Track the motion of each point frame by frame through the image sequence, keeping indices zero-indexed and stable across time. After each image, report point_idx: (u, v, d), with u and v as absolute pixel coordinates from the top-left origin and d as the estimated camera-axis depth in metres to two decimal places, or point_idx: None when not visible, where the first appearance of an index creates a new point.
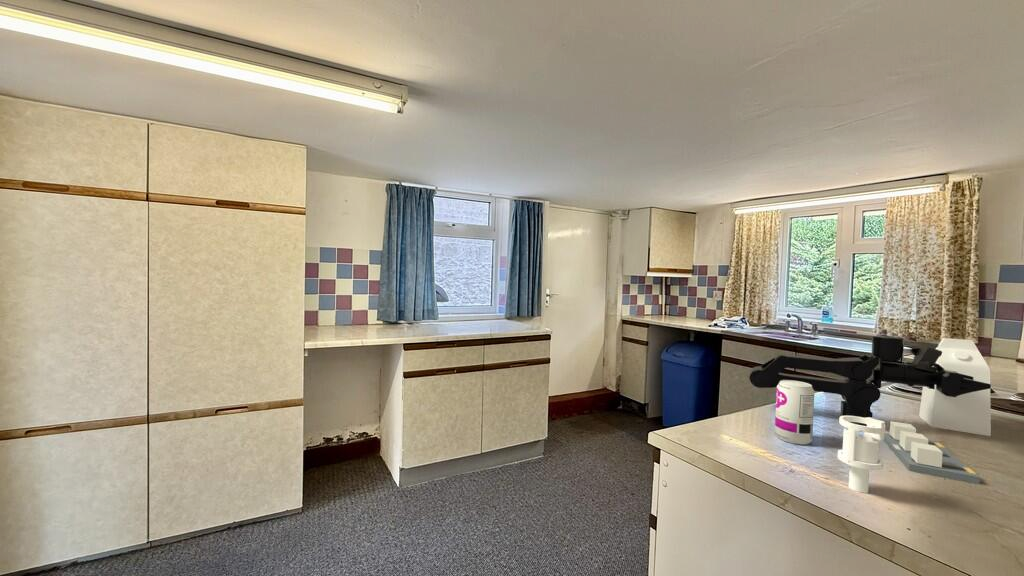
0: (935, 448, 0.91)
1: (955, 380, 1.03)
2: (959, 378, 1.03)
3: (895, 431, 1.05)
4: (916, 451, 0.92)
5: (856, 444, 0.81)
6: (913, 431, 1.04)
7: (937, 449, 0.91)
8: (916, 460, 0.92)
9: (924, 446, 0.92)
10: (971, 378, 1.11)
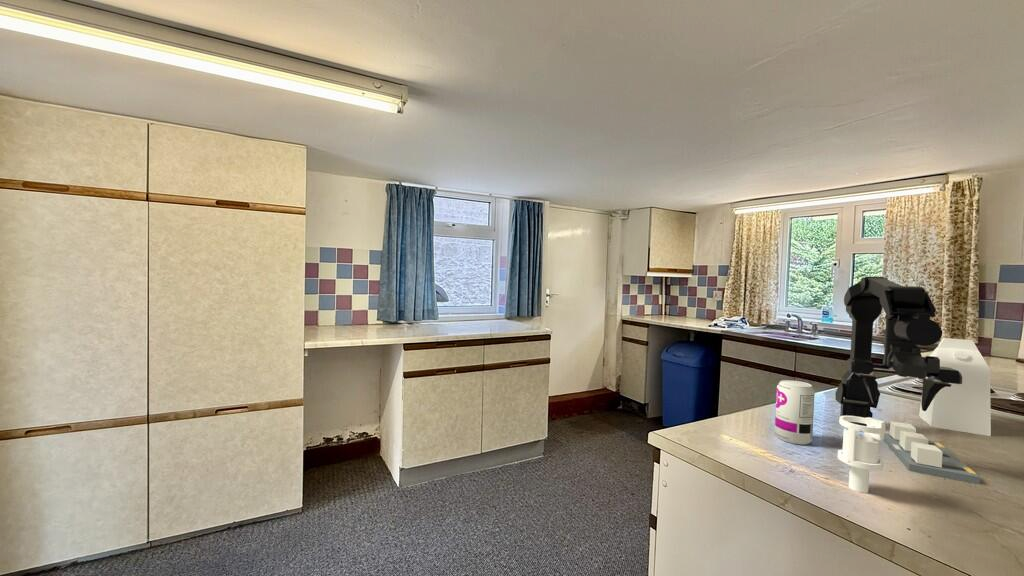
0: (935, 448, 0.91)
1: (849, 369, 0.98)
2: (858, 375, 0.97)
3: (895, 431, 1.05)
4: (916, 451, 0.92)
5: (856, 444, 0.81)
6: (913, 431, 1.04)
7: (937, 449, 0.91)
8: (916, 460, 0.92)
9: (924, 446, 0.92)
10: (923, 408, 0.92)
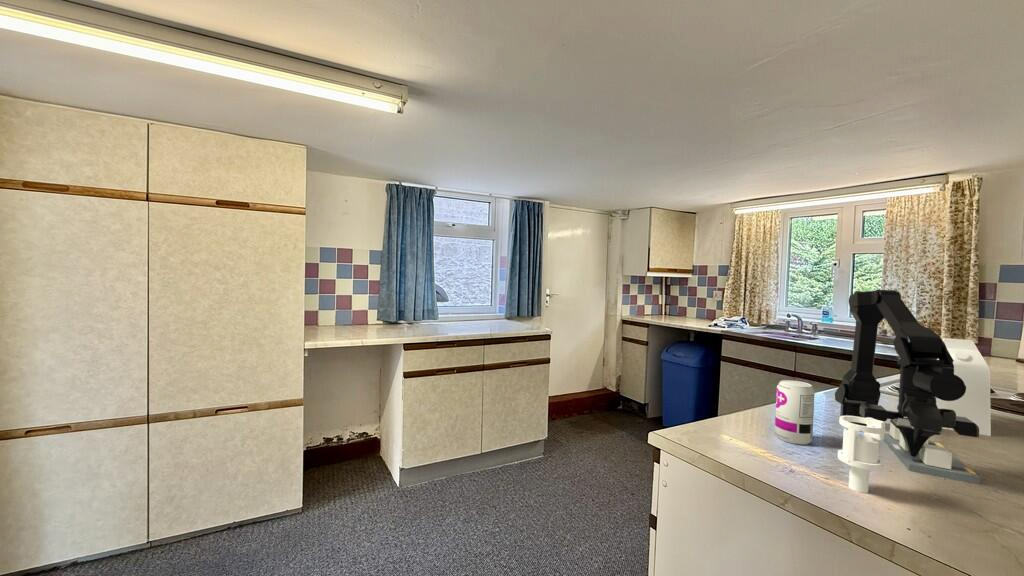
0: (944, 450, 0.91)
1: (863, 415, 0.97)
2: (895, 426, 0.93)
3: (895, 431, 1.05)
4: (925, 453, 0.91)
5: (856, 444, 0.81)
6: None
7: (947, 451, 0.90)
8: (925, 462, 0.91)
9: (933, 447, 0.92)
10: None
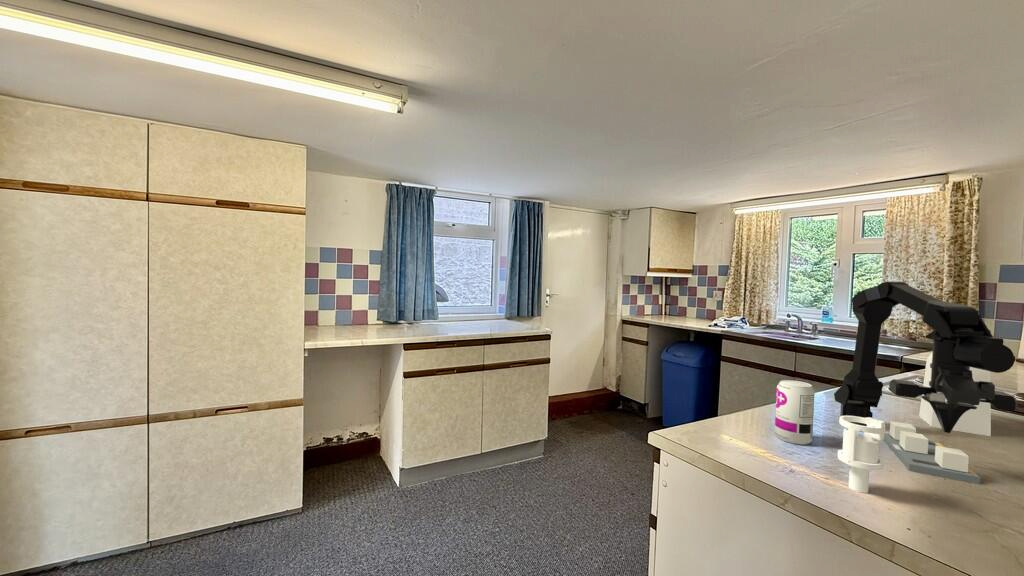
0: (961, 452, 0.89)
1: (894, 391, 0.94)
2: (928, 401, 0.91)
3: (895, 431, 1.05)
4: (941, 456, 0.90)
5: (856, 444, 0.81)
6: (913, 431, 1.04)
7: (963, 453, 0.89)
8: (941, 465, 0.90)
9: (949, 450, 0.90)
10: (946, 430, 0.90)
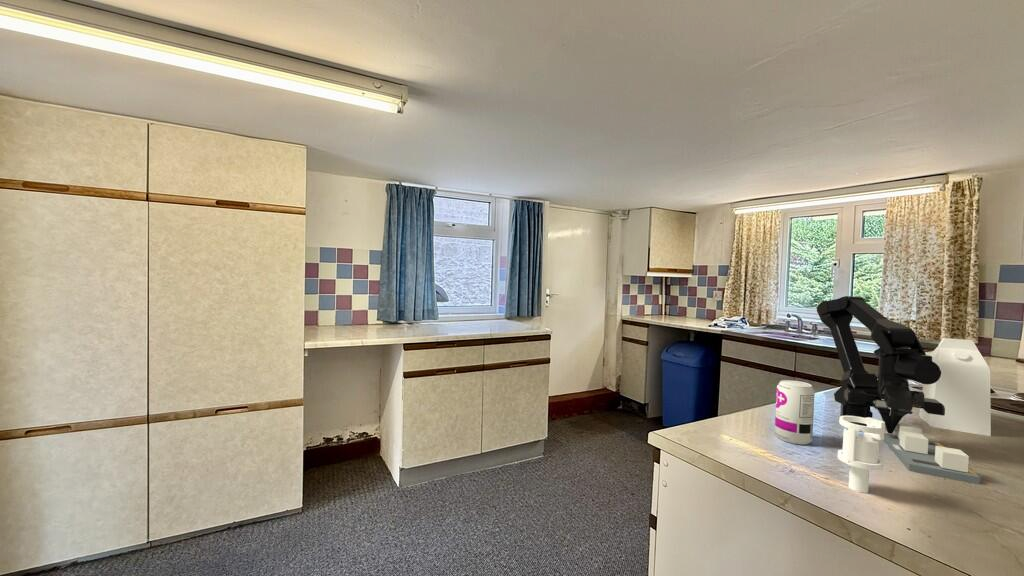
0: (961, 452, 0.89)
1: (846, 398, 1.11)
2: (874, 407, 1.08)
3: None
4: (941, 456, 0.90)
5: (856, 444, 0.81)
6: (919, 432, 1.03)
7: (963, 453, 0.89)
8: (941, 465, 0.90)
9: (949, 450, 0.90)
10: None
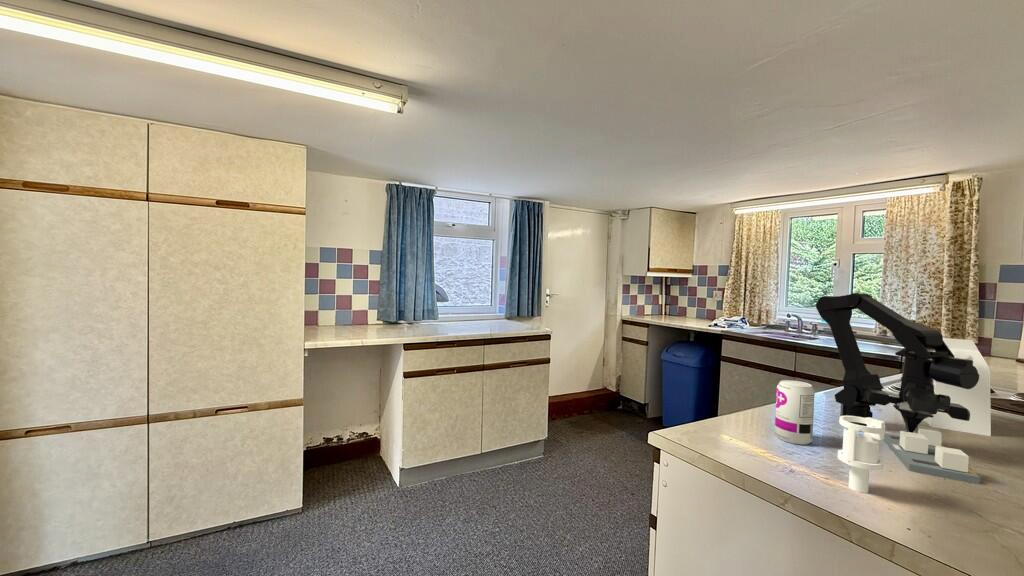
0: (961, 452, 0.89)
1: (867, 399, 1.09)
2: (897, 409, 1.05)
3: None
4: (941, 456, 0.90)
5: (856, 444, 0.81)
6: (939, 435, 1.01)
7: (963, 453, 0.89)
8: (941, 465, 0.90)
9: (949, 450, 0.90)
10: None
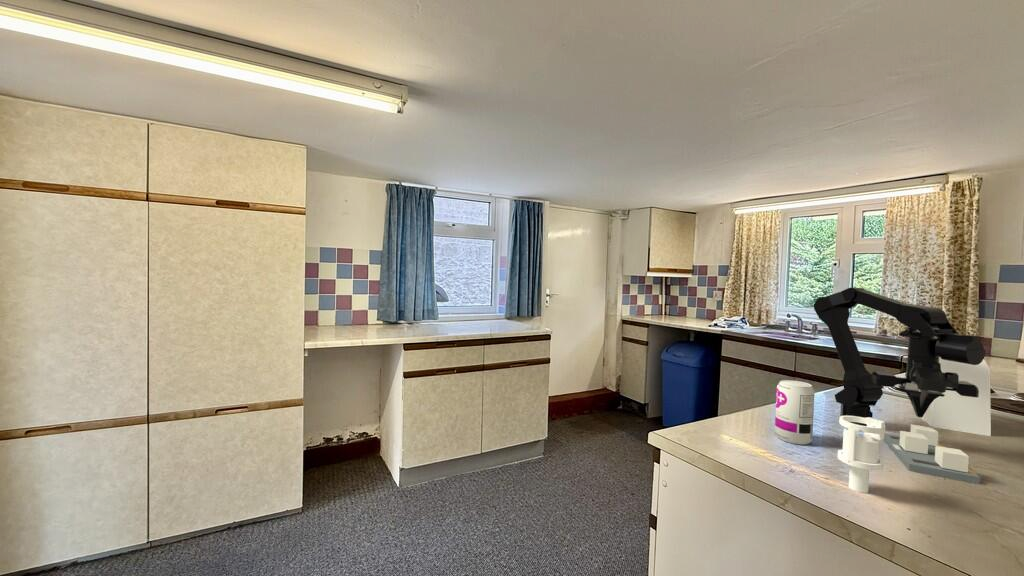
0: (961, 452, 0.89)
1: (874, 381, 1.08)
2: (904, 390, 1.04)
3: None
4: (941, 456, 0.90)
5: (856, 444, 0.81)
6: (935, 434, 1.02)
7: (963, 453, 0.89)
8: (941, 465, 0.90)
9: (949, 450, 0.90)
10: (919, 415, 1.04)
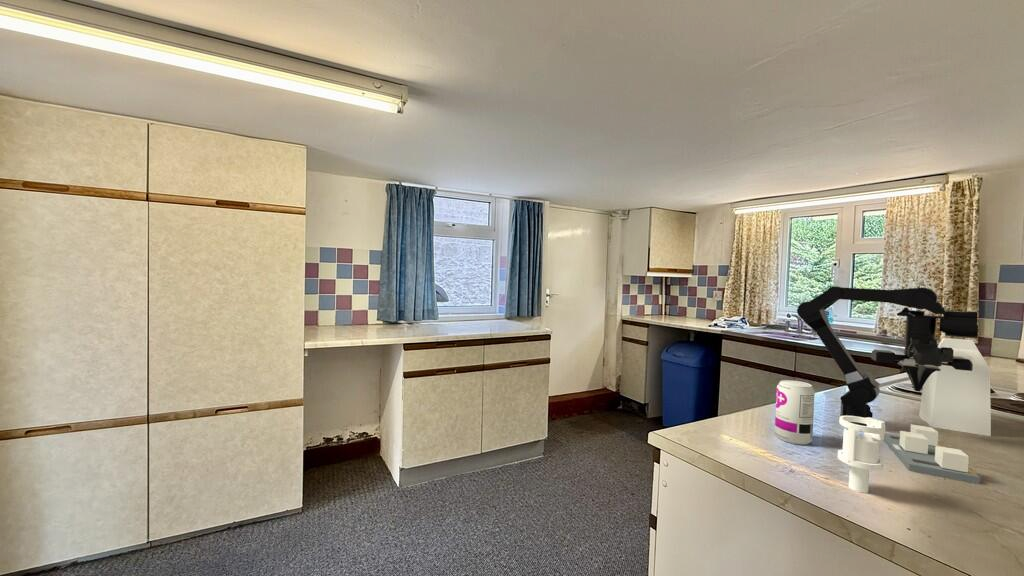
0: (961, 452, 0.89)
1: (874, 359, 1.14)
2: (902, 365, 1.11)
3: None
4: (941, 456, 0.90)
5: (856, 444, 0.81)
6: (935, 434, 1.02)
7: (963, 453, 0.89)
8: (941, 465, 0.90)
9: (949, 450, 0.90)
10: (917, 389, 1.10)
